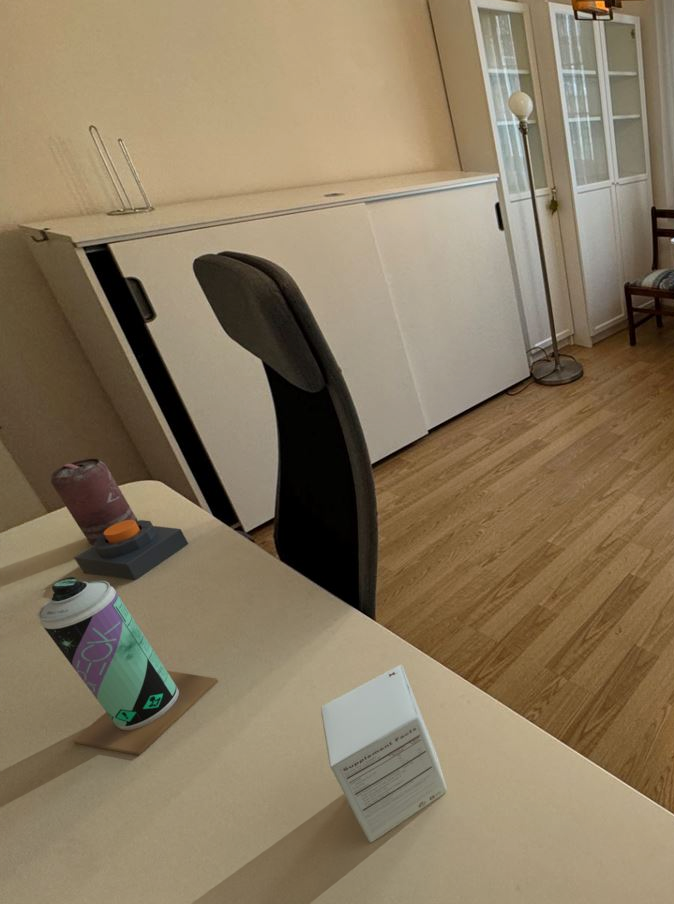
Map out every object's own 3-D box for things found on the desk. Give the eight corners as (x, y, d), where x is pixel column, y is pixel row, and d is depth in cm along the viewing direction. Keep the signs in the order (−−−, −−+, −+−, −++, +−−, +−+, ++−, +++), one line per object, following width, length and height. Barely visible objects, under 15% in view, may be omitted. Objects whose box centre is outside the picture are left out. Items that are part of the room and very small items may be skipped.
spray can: (115, 708, 66) (24, 584, 58) (176, 677, 70) (99, 555, 61) (117, 740, 63) (21, 613, 54) (181, 705, 66) (100, 580, 58)
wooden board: (74, 743, 63) (72, 740, 63) (159, 671, 71) (157, 668, 71) (139, 755, 62) (137, 752, 61) (218, 680, 70) (216, 678, 69)
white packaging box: (356, 782, 59) (318, 704, 53) (431, 737, 63) (403, 660, 58) (368, 847, 53) (327, 768, 48) (449, 793, 57) (419, 714, 52)
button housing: (83, 573, 87) (67, 548, 85) (139, 538, 94) (126, 514, 92) (135, 580, 85) (120, 555, 83) (188, 543, 93) (176, 520, 90)
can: (119, 521, 98) (80, 455, 92) (150, 524, 97) (112, 457, 91) (79, 546, 93) (34, 477, 87) (111, 549, 92) (68, 479, 86)
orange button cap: (102, 542, 86) (96, 534, 86) (128, 527, 90) (123, 518, 89) (121, 545, 86) (115, 536, 85) (146, 529, 89) (141, 520, 88)
